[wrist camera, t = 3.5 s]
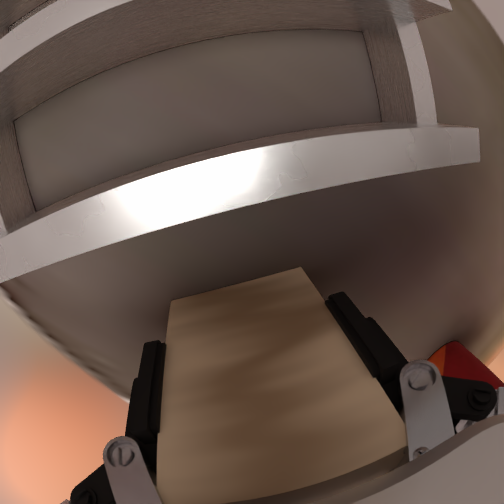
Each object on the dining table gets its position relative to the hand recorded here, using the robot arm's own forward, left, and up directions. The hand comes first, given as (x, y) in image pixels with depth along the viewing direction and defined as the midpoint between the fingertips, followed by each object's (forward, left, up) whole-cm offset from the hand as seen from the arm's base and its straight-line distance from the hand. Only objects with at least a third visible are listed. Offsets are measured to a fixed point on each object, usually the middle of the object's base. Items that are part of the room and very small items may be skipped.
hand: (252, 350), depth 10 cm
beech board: (0, 0, -3) cm, 3 cm away
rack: (0, -12, -3) cm, 12 cm away
